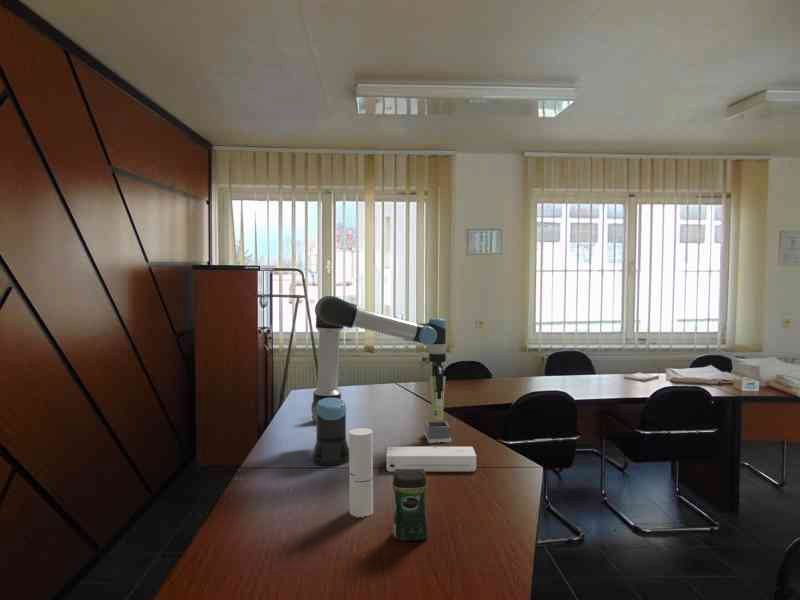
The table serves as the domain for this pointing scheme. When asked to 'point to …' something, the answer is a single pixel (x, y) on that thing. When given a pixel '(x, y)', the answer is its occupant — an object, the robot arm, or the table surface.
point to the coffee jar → (410, 505)
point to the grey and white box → (437, 431)
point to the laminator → (431, 458)
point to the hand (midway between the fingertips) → (437, 404)
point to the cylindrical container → (361, 472)
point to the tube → (436, 410)
